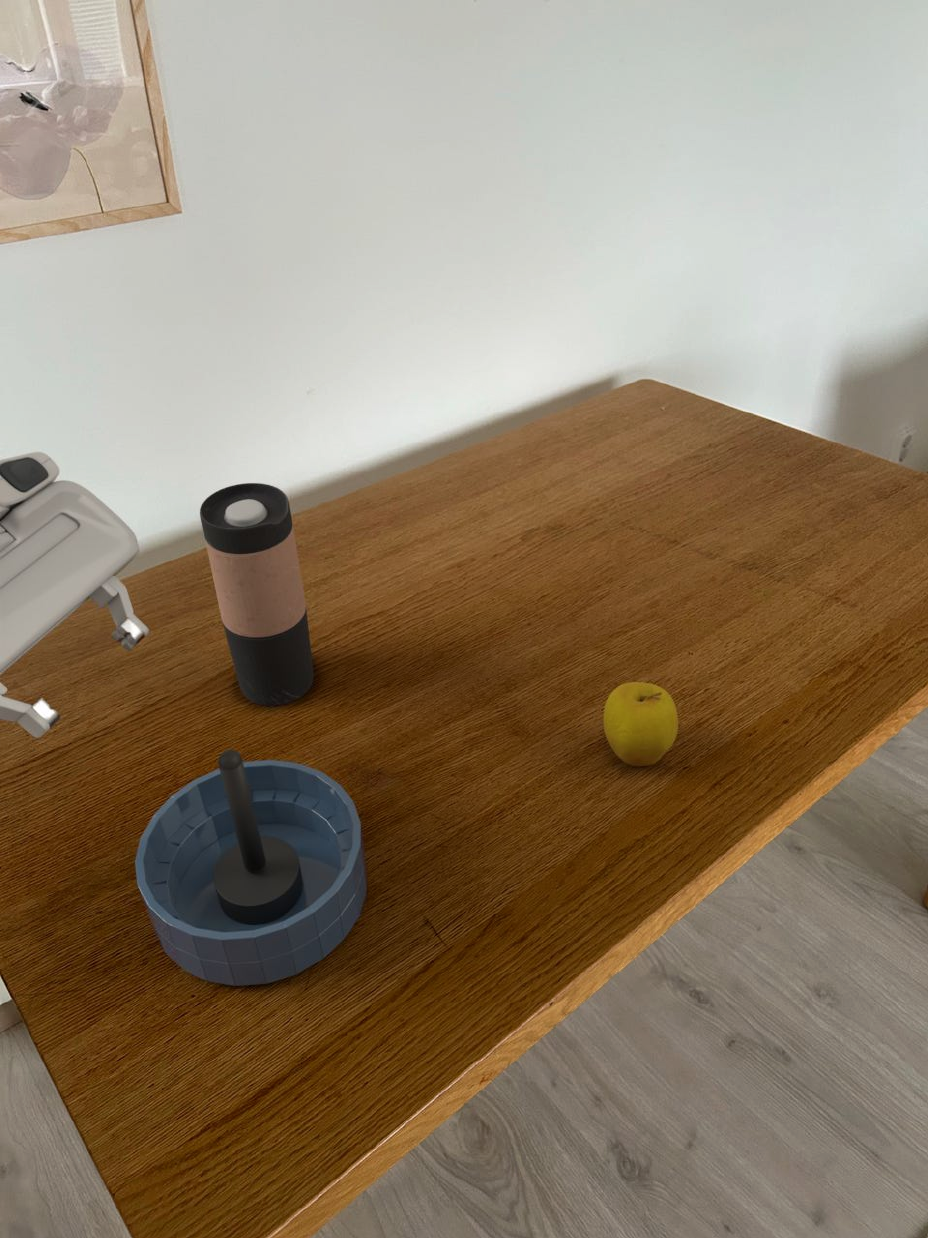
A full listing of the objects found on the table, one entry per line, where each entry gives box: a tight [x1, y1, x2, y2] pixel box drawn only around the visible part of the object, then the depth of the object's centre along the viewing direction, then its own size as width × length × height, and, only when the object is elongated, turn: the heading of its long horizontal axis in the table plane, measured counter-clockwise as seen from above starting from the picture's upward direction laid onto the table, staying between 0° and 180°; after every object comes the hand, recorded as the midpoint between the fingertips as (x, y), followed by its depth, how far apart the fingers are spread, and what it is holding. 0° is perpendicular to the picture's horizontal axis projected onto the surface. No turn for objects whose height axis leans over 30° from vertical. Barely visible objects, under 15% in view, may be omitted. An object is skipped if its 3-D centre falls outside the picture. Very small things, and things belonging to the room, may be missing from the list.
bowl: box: [134, 759, 368, 987], centre depth 74 cm, size 16×16×6 cm
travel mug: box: [199, 482, 314, 707], centre depth 89 cm, size 8×8×20 cm
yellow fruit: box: [603, 681, 679, 767], centre depth 84 cm, size 6×6×8 cm
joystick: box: [214, 749, 303, 925], centre depth 71 cm, size 6×6×15 cm
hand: (97, 682), depth 67 cm, fingers open, 8 cm apart
